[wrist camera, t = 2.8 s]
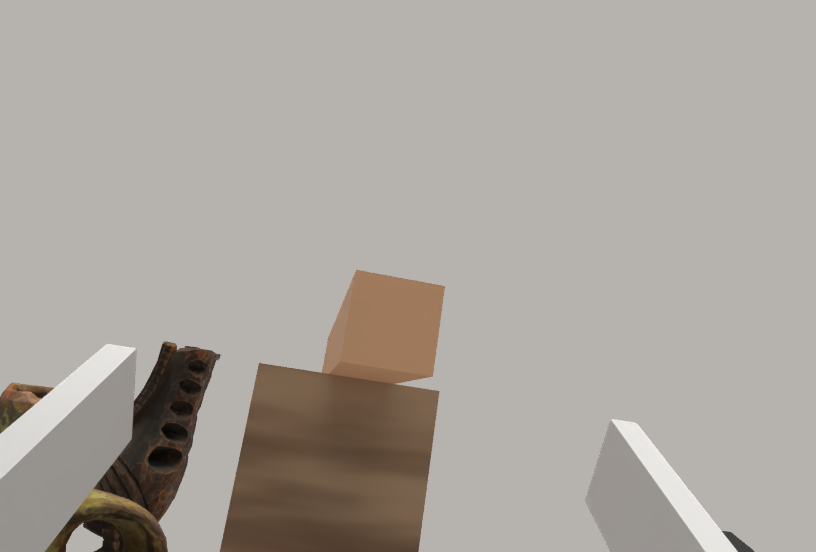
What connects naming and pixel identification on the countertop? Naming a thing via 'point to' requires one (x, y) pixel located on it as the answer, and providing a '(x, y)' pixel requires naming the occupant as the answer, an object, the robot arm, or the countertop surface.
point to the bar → (385, 330)
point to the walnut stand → (331, 465)
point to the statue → (158, 437)
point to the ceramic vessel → (132, 520)
